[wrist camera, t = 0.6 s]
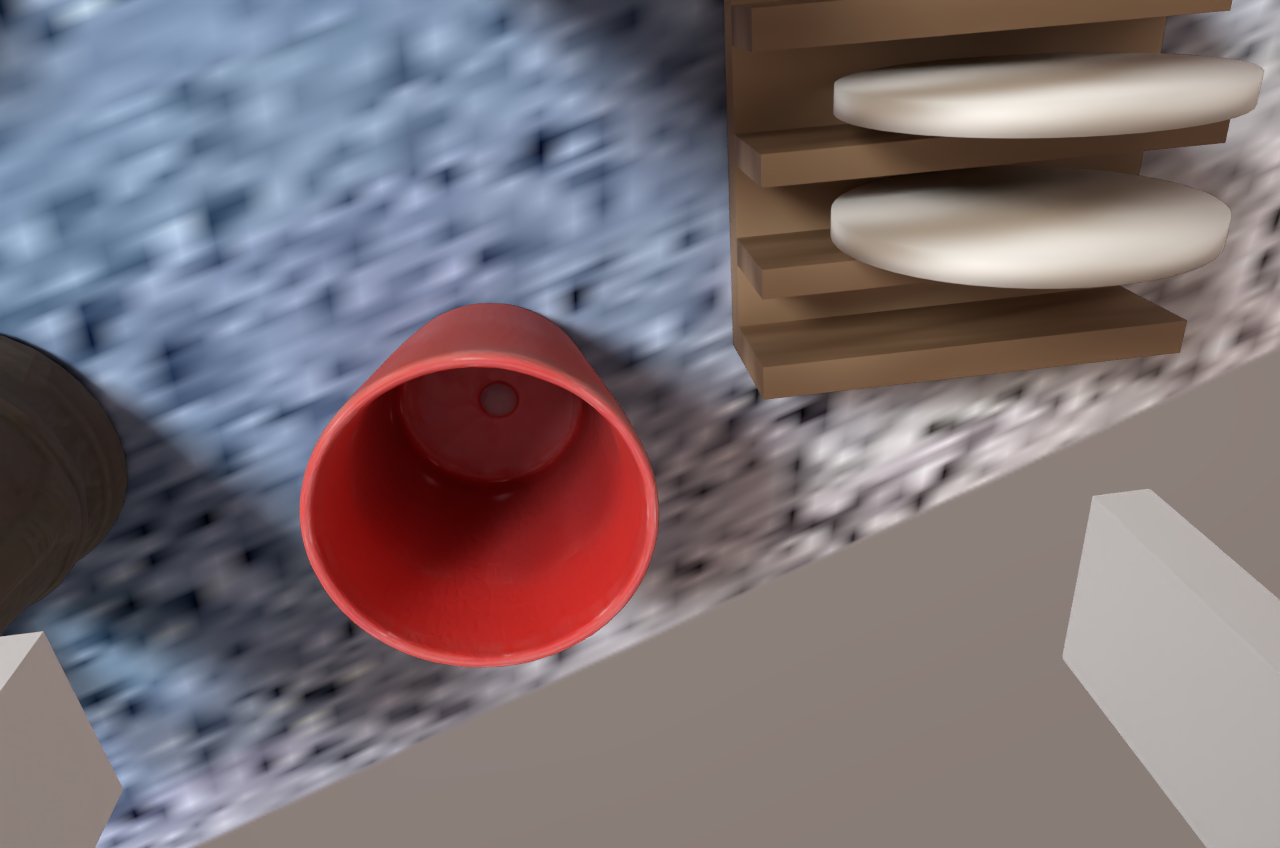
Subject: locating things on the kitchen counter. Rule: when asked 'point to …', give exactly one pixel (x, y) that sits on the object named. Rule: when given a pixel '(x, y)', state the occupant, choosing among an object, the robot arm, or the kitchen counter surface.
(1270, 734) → the robot arm
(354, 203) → the kitchen counter surface
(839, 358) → the dish rack
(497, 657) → the flower pot
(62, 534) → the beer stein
